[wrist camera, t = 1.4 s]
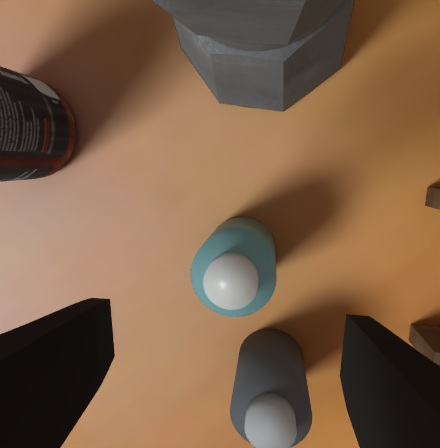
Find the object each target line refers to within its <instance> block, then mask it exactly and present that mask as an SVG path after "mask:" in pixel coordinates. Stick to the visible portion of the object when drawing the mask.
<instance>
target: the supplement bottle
mask: <svg viewBox="0 0 440 448" xmlns="http://www.w3.org/2000/svg"><path fill="white" fill-rule="evenodd" d="M75 139H76V129H75V121H74V118H73V114H72V111H71V109H70V107H69V105H68V104H67V102H66V101H65V100H64V98H63V97H62V96H61V95H60V94H59V93H58V92H57V91H56V90H55V89H54V88H53V87H51V86H50V85H48V84H46V83H44V82H42V81H39V80H37V79H36V78H32V77H29V76H27V75H24V74H21V73H18V72H15V71H12V70H9V69H6V68H3V67H0V181H13V180H27V179H36V178H42V177H46V176H49V175H52V174H54V173H55V172H57V171H58V170H59V169H61V168H62V167H63V166H64V164H65V163H66V162H67V161H68V159H69V158H70V156H71V154H72V152H73V149H74V145H75Z"/></svg>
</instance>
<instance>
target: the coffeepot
mask: <svg viewBox="0 0 440 448" xmlns="http://www.w3.org/2000/svg"><path fill="white" fill-rule="evenodd" d="M152 1H153V2H154V3H156V4H157V5H158V6H160V7H161V8H162V9H163V10H165V11H166V12H167V13H169V14H170V15H171V16H172V17H173V19H174V23H175V26H176V30H177V34H178V38H179V41H180V45H181V49H182V51H183V52H184V54H185V55H186V57H187V58H188V59H189V61H190V62H191V64H192V65H193V66H194V68H195V69H196V71H197V72H198V73H199V75H200V76H201V78H202V79H203V80H204V82H205V83H206V85H207V86H208V87H209V89H210V90H211V92H212V93H213V94H214V96H215V97H216V99H217V100H218V101H219V103H222V104H230V105H237V106H243V107H248V108H260V109H268V110H275V111H283V112H284V111H285V110H286V109H288V108H289V107H290V106H292V105H293V104H294V103H295V102H297V101H298V100H299V99H301V98H302V97H304V96H305V95H306V94H308V93H309V92H310V91H312V90H313V89H314V88H315V87H316V86H318V85H319V84H320V83H322V82H323V81H324V80H326V79H327V78H328V77H330V76H331V75H332V74H333V73H335V72H336V71H337V70H339V69H340V68H341V63H342V58H343V53H344V48H345V43H346V38H347V33H348V28H349V24H350V19H351V14H352V9H353V4H354V0H152Z"/></svg>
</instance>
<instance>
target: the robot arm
mask: <svg viewBox="0 0 440 448" xmlns="http://www.w3.org/2000/svg"><path fill="white" fill-rule="evenodd" d="M114 356H115V354H114V342H113V330H112V318H111V306H110V299H100V298H90V299H86V300H83V301H80V302H78V303H75V304H73V305H70V306H68V307H65V308H63V309H61V310H58V311H56V312H54V313H51V314H49V315H47V316H44V317H42V318H40V319H37V320H35V321H33V322H30V323H28V324H25V325H23V326H20V327H18V328H15V329H13V330H10V331H8V332H5V333H3V334H0V448H60V447H61V446H62V444H63V443H64V441H65V440H66V438H67V437H68V435H69V434H70V432H71V431H72V429H73V428H74V426H75V424H76V423H77V421H78V420H79V418H80V417H81V415H82V414H83V412H84V411H85V409H86V408H87V406H88V405H89V403H90V402H91V400H92V398H93V397H94V395H95V394H96V392H97V391H98V389H99V387H100V386H101V384H102V382H103V380H104V378H105V376H106V374H107V372H108V370H109V367H110V365H111V363H112V361H113V359H114ZM340 378H341V383H342V389H343V394H344V398H345V403H346V407H347V411H348V414H349V417H350V420H351V423H352V426H353V429H354V432H355V435H356V438H357V441H358V444H359V447H360V448H440V366H439V365H438V364H436V363H435V362H433V361H432V360H430V359H429V358H427V357H426V356H424V355H423V354H422V353H420V352H419V351H417V350H416V349H414V348H413V347H412V346H410V345H409V344H408V343H406V342H405V341H403V340H402V339H401V338H399V337H398V336H397V335H395V334H394V333H392V332H391V331H390V330H388V329H387V328H386V327H384V326H383V325H381V324H380V323H379V322H377V321H376V320H374V319H373V318H371V317H369V316H360V315H346V323H345V333H344V342H343V352H342V361H341V370H340Z"/></svg>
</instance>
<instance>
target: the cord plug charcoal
mask: <svg viewBox="0 0 440 448" xmlns="http://www.w3.org/2000/svg"><path fill="white" fill-rule="evenodd" d="M230 415H231V420H232V423H233V425H234V427H235V429H236V430H237V432H238V433H239V434H240V435H241V436H242V437H243V438H244V439H245V440H246V441H248V442H249V443H251V444H252V445H253V446H255V447H256V448H290V447H292V446H295V445H296V444H298V443H299V442H301V441H302V440H303V439H304V438H305V437H306V435H307V434H308V432H309V430H310V427H311V424H312V411H311V405H310V399H309V392H308V386H307V380H306V374H305V367H304V361H303V355H302V351H301V348H300V346H299V345H298V343H297V342H296V341H295V339H294V338H292V337H291V336H290V335H289V334H287V333H285V332H283V331H280V330H277V329H262V330H258V331H256V332H254V333H252V334H250V335H249V336H248V337H247V338H246V339H245V340H244V342H243V343H242V345H241V348H240V352H239V358H238V364H237V370H236V376H235V382H234V388H233V394H232V400H231V406H230Z"/></svg>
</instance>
